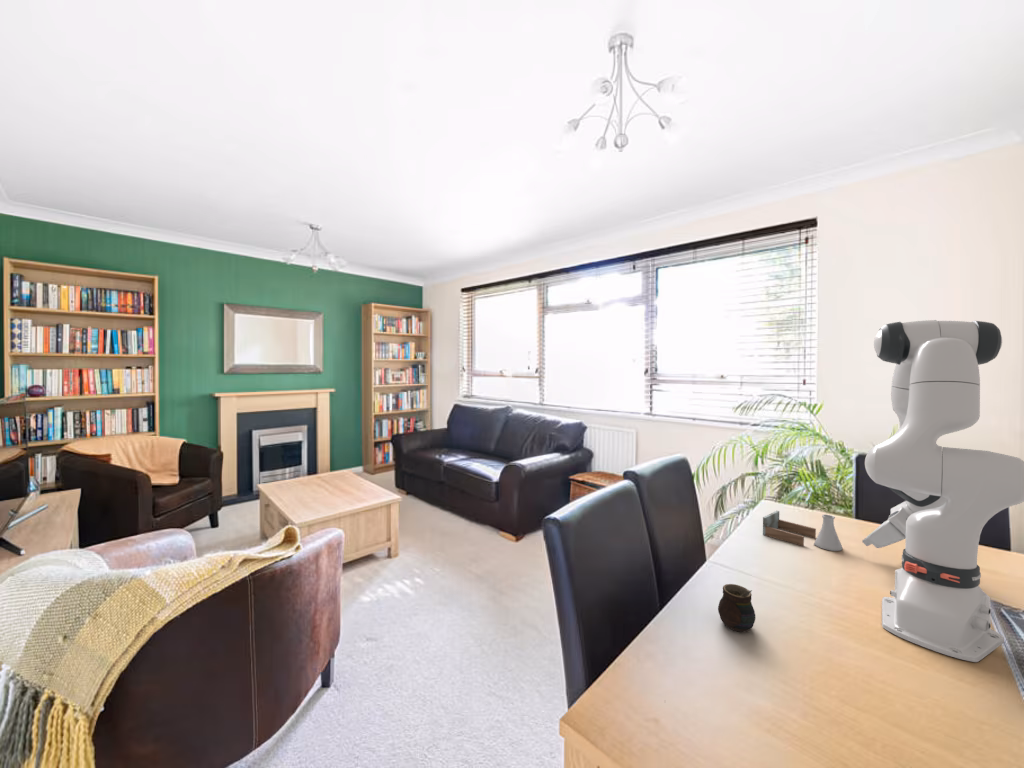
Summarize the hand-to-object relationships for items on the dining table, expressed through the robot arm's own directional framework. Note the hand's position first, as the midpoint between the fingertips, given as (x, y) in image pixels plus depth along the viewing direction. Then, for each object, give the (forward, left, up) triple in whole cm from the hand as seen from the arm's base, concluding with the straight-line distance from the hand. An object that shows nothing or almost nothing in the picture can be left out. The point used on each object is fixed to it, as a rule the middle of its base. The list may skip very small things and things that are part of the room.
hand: (865, 542), depth 123 cm
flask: (0, +9, -5) cm, 10 cm away
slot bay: (0, +20, -4) cm, 21 cm away
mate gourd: (-66, +7, -5) cm, 67 cm away
